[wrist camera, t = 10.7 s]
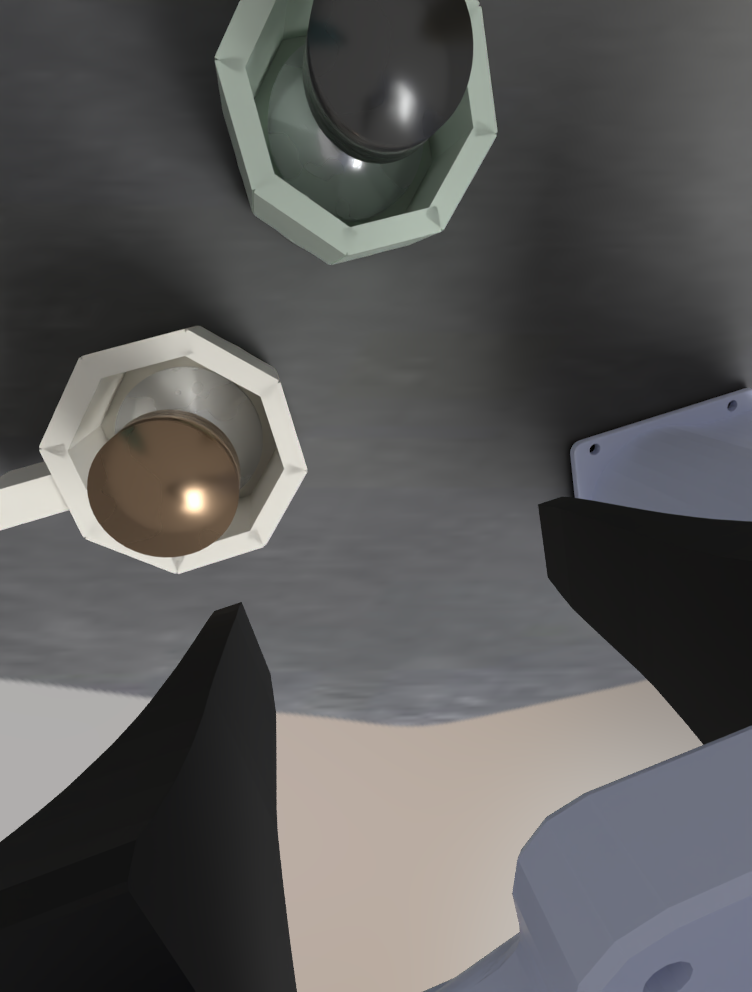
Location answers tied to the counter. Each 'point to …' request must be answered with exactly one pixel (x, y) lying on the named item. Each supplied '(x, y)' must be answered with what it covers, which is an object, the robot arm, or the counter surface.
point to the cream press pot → (91, 424)
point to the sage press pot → (245, 101)
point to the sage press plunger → (367, 99)
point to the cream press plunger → (175, 462)
